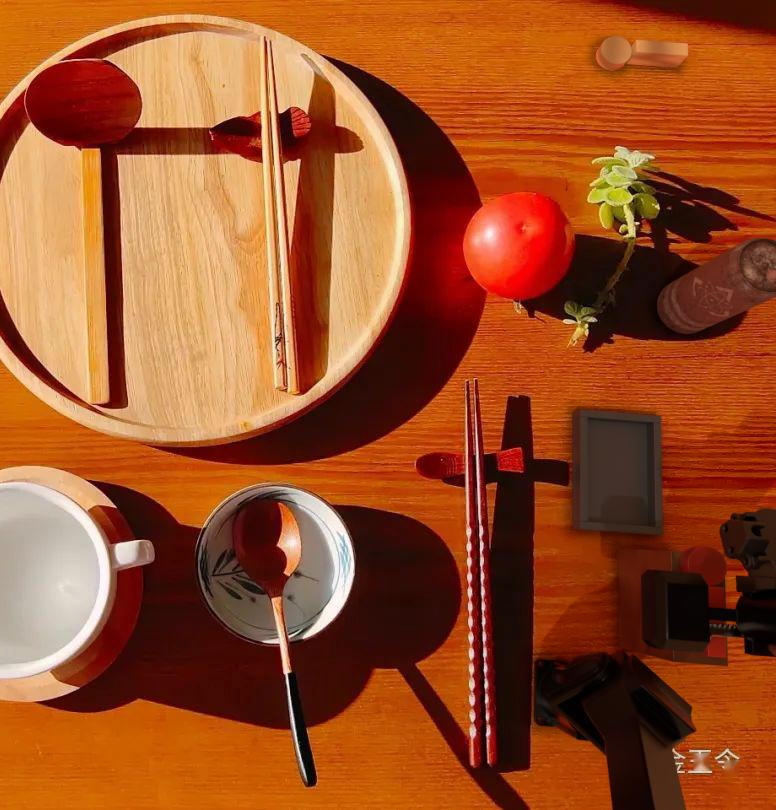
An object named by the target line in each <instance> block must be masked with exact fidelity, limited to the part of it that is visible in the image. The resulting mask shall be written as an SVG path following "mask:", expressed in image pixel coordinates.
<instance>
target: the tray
mask: <svg viewBox="0 0 776 810" xmlns="http://www.w3.org/2000/svg"><path fill="white" fill-rule="evenodd" d="M662 443H663V442H662V416H661V415H658V414H656V415H655V414H644V413H630V412H618V411H607V410H606V411H605V410H594V409H578V410H575V411H573V412H572V450H571V451H572V467H571V468H572V469H571V471H572V472H571V473H572V477H571V478H572V481H571V482H572V486H571V487H572V488H571V490H572V491H571V492H572V493H571V494H572V495H571V496H572V499H571V500H572V503H571V504H572V505H571V507H572V513H571V514H572V516H571V518H572V519H571V521H572V523H571V524H572V525H571V527H572V530H578V531H592V532H593V531H594V532H605V533H617V534H630V535H631V534H632V535H642V536H664V506H663V505H664V504H663V501H664V500H663V499H664V498H663V496H664V495H663V494H664V493H663V453H662V452H663V450H662V447H663V446H662Z"/></svg>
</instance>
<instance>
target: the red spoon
mask: <svg viewBox="0 0 776 810" xmlns="http://www.w3.org/2000/svg"><path fill="white" fill-rule="evenodd" d="M683 551H684V552H683V553H682V555H681V557H680V562H679V565H680V570H681V572H690V573H701V574H702V576H703V577H704V579H705V581H706V582H707V584H708V589H709V607H720V608H724V588H721V587H711V586H715V585H717V584H719V583H720V582H722V581H723V579H724V578H725V579H726V576H727V573H728V564H727V560H726V558H724V557H723V555H722V552H721V551H719V550H718V549H717V548H715V547H713V546H709V545H693V546H690V547H688V548H686V549H684V550H683ZM709 623H712V624H713V623H717V624H718V623H720V624H725V621H715V620H709ZM693 653H697V654H701V655H705V656H711V657H724V658H725V657H726V641H725V637H719V636H713V637H712V638H711V640H710V643H709V645H708V646H707V648H706V649H705V651H704V653H698V652H693Z"/></svg>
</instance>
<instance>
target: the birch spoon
mask: <svg viewBox="0 0 776 810" xmlns="http://www.w3.org/2000/svg"><path fill="white" fill-rule="evenodd" d="M688 56H689V43H687V42H686V43H685V42H673V41H661V40H660V41H658V40H647V39H636V40H635V41H634V42H633V43H632V45H631V44H630V42H629V41H628V40H627V39H626V38H624V37H622V36H618V35H612V36H608V37H607V38H606V39H604V40H603V41H602V43H601V44H600V45H599V46H598V48H597V50H596V53H595V60H596V62H597V64H598V65H599V66H600V67H601V68H603V70H606V71H611V72H615V71H618V70H620V69H622V68H623V67H624V66H625V65H633V66H634V65H635V66H648V67H659V68H660V67H661V68H674V69H677V68H678V67H679V66H680V65H681V64H683V62H684V61H685V60H686V59H687V58H688Z"/></svg>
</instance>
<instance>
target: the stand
mask: <svg viewBox="0 0 776 810" xmlns="http://www.w3.org/2000/svg"><path fill="white" fill-rule="evenodd" d="M684 551H685V550H674V549H673V550H672V549H671V550H670V549H639V548H638V549H636V548H617V616H618V617H617V625H618V628H617V629H618V634H617V635H618V637H617V638H618V648H621V649H625V650H629V651H632V652H635V653H639V654H642V655H647V656H650V657H653V658H657V659H661V660H664V661H668V662H672V663H678V664H679V663H680V664H690V665H691V664H692V665H703V666H715V667H729V650H728V649H729V648H728V647H729V645H728V637H725V641H726V657H725V658H724V657H711V656H705V655H701V654H697V653H693V652H685V651H673V650H661V649H657V648H653V647H649V646H648V645H647V644H646V643H645V642H644V641H643V640H642V615H641V575H642V574H643V573H644V572H645V571H646V570H647V569H651V570H664V571H677V572H681V570H680V565H679V562H680V557H681V555H682V553H683V552H684ZM721 554H722V553H721ZM722 555H723V557H724V558H725V557H726V555H725V553H724V554H722ZM725 559H726V558H725ZM726 586H727V585H726V577H725V578H724V579H723V581H722V582H720V583H719V584H717V585H715V586H711V587H721V588H724V608H727V587H726ZM725 624H728V622H727V621H725Z"/></svg>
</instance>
